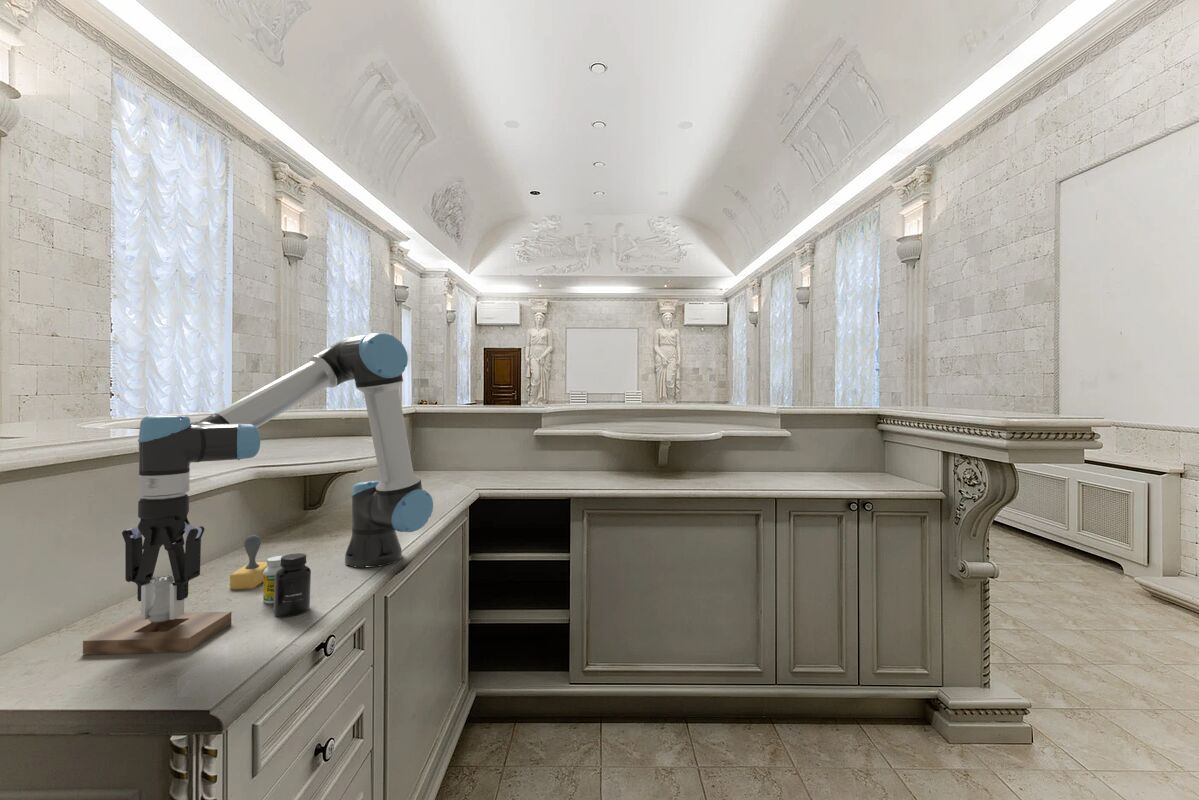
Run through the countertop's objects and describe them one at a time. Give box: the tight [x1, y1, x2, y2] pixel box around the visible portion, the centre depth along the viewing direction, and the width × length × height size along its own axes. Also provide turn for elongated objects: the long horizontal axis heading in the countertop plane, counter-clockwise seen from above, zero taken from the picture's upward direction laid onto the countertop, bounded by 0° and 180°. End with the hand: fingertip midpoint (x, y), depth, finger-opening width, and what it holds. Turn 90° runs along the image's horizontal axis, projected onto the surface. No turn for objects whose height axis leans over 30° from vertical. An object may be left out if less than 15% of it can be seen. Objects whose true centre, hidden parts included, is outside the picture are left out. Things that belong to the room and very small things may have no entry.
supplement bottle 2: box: [273, 552, 312, 618], centre depth 112 cm, size 7×7×12 cm
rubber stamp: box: [229, 534, 268, 590], centre depth 130 cm, size 10×6×12 cm, turn 11°
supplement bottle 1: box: [262, 555, 283, 605], centre depth 118 cm, size 5×5×10 cm
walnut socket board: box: [82, 611, 232, 655], centre depth 98 cm, size 18×12×2 cm, turn 94°
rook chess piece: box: [148, 574, 174, 623], centre depth 98 cm, size 4×4×8 cm
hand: (162, 616), depth 98 cm, fingers closed on rook chess piece, 4 cm apart
